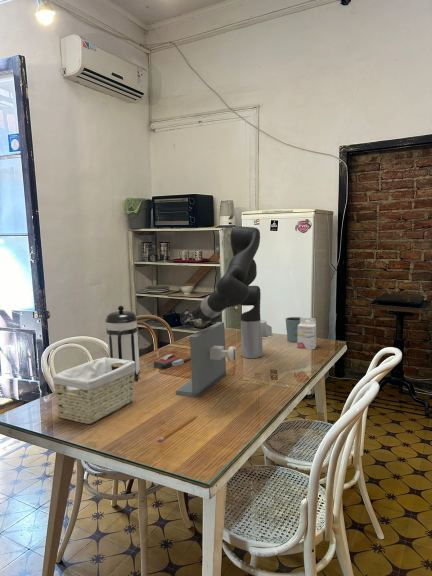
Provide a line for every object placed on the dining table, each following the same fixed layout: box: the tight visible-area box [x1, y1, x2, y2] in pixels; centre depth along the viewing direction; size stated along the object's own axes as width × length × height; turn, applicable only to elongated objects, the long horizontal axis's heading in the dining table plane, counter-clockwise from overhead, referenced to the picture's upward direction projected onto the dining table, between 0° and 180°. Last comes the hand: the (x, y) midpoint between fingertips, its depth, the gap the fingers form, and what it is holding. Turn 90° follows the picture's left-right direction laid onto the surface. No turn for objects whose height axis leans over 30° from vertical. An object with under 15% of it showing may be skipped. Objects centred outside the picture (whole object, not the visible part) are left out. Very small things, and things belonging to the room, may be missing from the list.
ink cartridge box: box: [296, 317, 317, 350], centre depth 211 cm, size 9×5×15 cm, turn 65°
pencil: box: [157, 415, 198, 443], centre depth 128 cm, size 1×1×19 cm
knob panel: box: [175, 321, 227, 398], centre depth 163 cm, size 13×26×22 cm, turn 157°
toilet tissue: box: [261, 319, 273, 338], centre depth 238 cm, size 9×13×9 cm
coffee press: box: [104, 305, 141, 382], centre depth 174 cm, size 17×16×30 cm
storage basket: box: [52, 356, 135, 425], centre depth 144 cm, size 24×16×15 cm
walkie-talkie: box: [153, 353, 191, 370], centre depth 194 cm, size 9×4×20 cm
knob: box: [220, 345, 238, 363], centre depth 159 cm, size 6×6×6 cm
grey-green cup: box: [285, 316, 303, 344], centre depth 226 cm, size 10×10×12 cm
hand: (192, 322), depth 164 cm, fingers open, 8 cm apart
